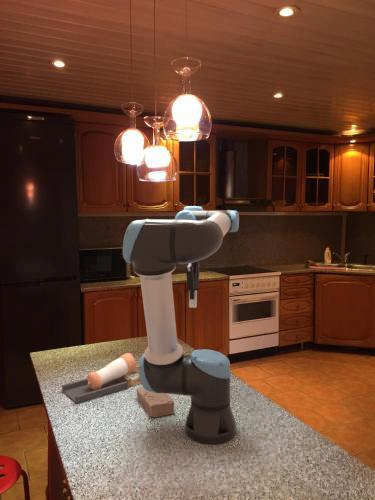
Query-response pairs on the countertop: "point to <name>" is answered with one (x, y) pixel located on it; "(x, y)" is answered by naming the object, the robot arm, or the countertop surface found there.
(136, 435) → the countertop surface
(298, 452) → the countertop surface
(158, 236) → the robot arm
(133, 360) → the salt shaker
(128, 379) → the oak cradle
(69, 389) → the grey tray
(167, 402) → the brick
